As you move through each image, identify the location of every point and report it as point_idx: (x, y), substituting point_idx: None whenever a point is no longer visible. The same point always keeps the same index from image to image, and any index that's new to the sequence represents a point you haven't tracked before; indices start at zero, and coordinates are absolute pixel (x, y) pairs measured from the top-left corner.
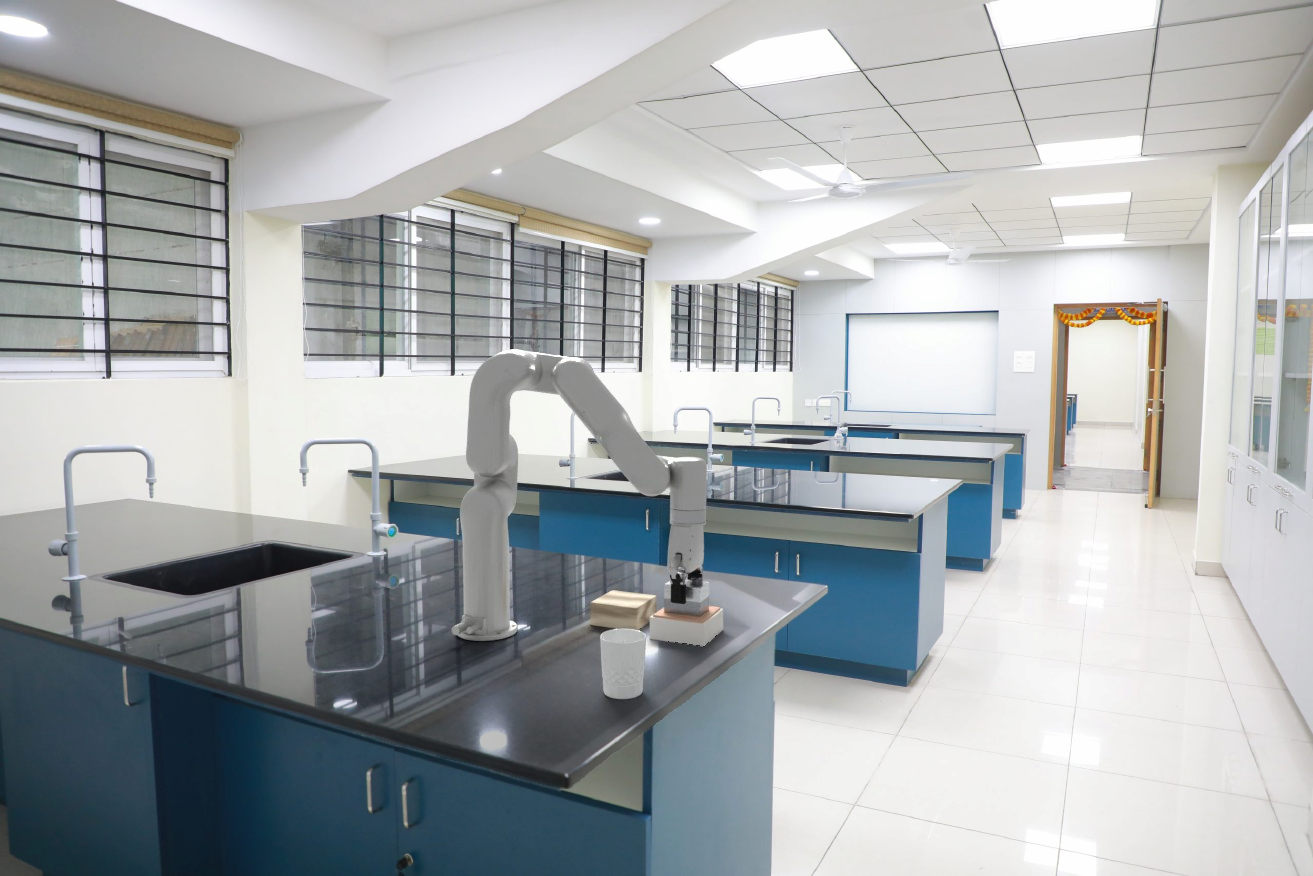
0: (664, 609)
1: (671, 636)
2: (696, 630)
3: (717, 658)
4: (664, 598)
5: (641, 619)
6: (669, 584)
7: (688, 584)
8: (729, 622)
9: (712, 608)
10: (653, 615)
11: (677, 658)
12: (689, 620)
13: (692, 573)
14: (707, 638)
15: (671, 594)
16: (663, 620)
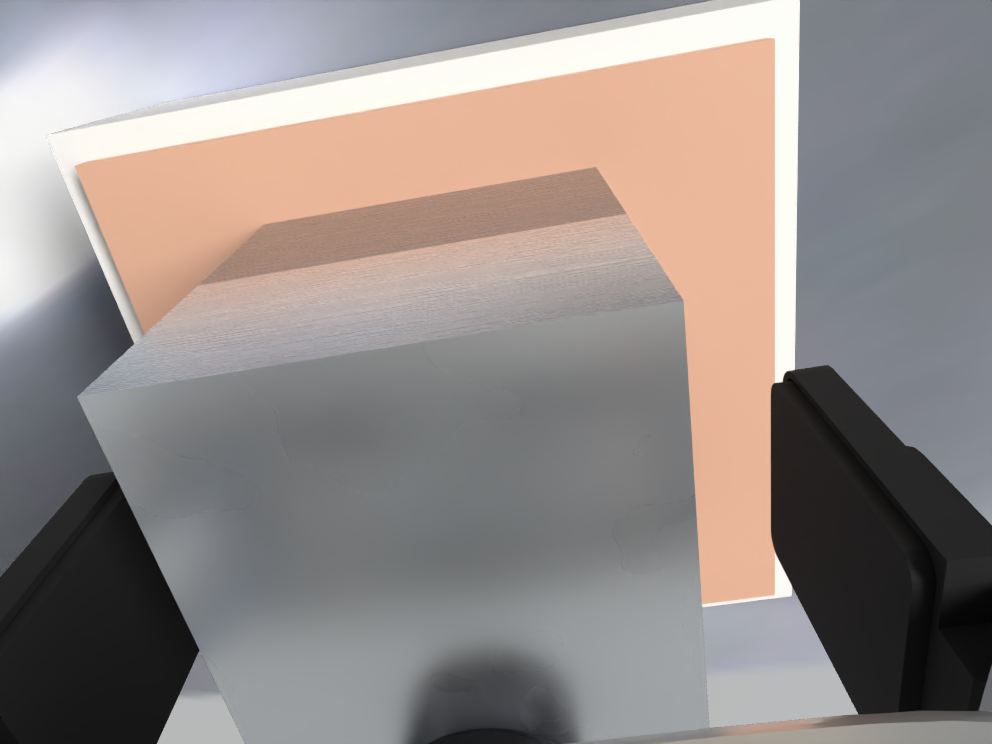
0: (257, 237)
1: None
2: None
3: (196, 666)
4: (202, 287)
5: None
6: (133, 495)
7: (382, 725)
8: (943, 435)
9: (701, 559)
10: (83, 172)
11: (4, 503)
12: None
13: (930, 654)
14: None
15: (39, 551)
16: (127, 305)
